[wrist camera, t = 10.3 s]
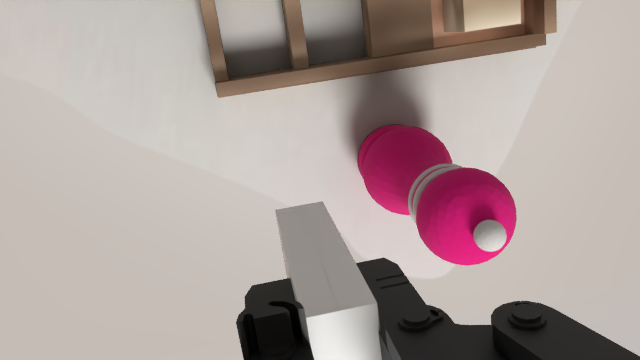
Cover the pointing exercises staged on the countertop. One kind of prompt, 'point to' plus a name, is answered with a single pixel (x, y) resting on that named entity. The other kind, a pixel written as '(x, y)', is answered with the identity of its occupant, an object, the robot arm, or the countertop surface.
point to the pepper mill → (438, 194)
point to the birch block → (480, 14)
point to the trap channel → (383, 42)
